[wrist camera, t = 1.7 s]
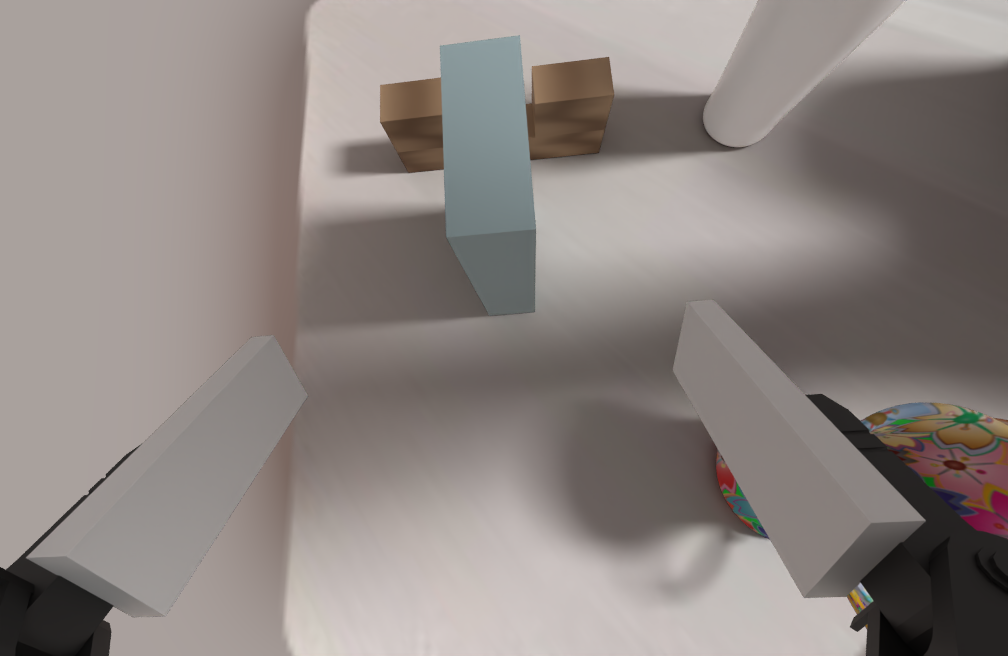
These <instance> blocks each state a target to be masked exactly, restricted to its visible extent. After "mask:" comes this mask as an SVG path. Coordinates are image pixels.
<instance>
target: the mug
mask: <svg viewBox="0 0 1008 656" xmlns="http://www.w3.org/2000/svg"><path fill="white" fill-rule="evenodd" d="M861 422H862V423H863V424H864V425H865V426H866V427H867V428H868V429H869V432H870V434H874V435H875V436H876V437H878V438H879V439H880V440H881V441H882V442H883V443H884V444H885V445H886V446H887V450H888V451H892V452H893V453H894V454H895V455H896V456H897V457H899V458H900V459H901V460H902V461H903V462H904V463H905V464H906V465H907V466H908V467H909V468H910V469H911V470H912V471H913V472H914V473H915V474H916V475H917V476H919V477H920V478H921V479H922V480H923V481H924V482H925V483H926V484H927V485H928V486H929V487H930V488H931V489H932V490H933V491H934V492H935V493H936V494H937V495H938V496H940V497H941V498H942V499H943V500H944V501H945V502H946V503H947V504H948V505H949V506H950V507H951V508H952V509H953V510H954V511H955V512H956V513H957V514H958V515H960V516H961V517H962V518H963V519H964V520H965V521H966V522H967V523H969V524H970V525H971V526H972V527H973V528H974V529H976V530H977V531H984V532H988V533H991V534H994V535H997V536H1000V537H1004V538H1007V539H1008V426H1007V425H1006V424H1004V423H1002V422H1000V421H998V420H996V419H994V418H992V417H990V416H987V415H985V414H982V413H979V412H977V411H974V410H971V409H967V408H964V407H960V406H955V405H950V404H942V403H909V404H903V405H897V406H894V407H890V408H887V409H884V410H881V411H879V412H876V413H874V414H872V415H870V416H868V417H866V418H865V419H863V420H861ZM716 471H717V477H718V482H719V485H720V488H721V491H722V493H723V496H724V498H725V500H726V501H727V503H728V505H729V506H730V507H731V509H732V510H733V512H734V513H735V514H736V515H737V516H738V517H739V519H740V520H742V521H743V522H744V523H745V524H746V525H747V526H748V527H749V528H751V529H752V530H754V531H755V532H757V533H758V534H760V535H762V536H764V537H766V538H768V539H769V537H768V535H767V533H766V532H765V530H764V528H763V526H762V525H761V523H760V521H759V519H758V518H757V516H756V514H755V513H754V511H753V509H752V507H751V506H750V504H749V502H748V500H747V499H746V497H745V495H744V494H743V492H742V490H741V488H740V487H739V485H738V483H737V481H736V480H735V478H734V476H733V474H732V473H731V471H730V469H729V468H728V466H727V464H726V462H725V461H724V459H723V457H722V455H721V454H720V452H719V450H718V451H717V458H716ZM847 598H848V600H849V602H850V603H851V605H852V607H853V608H854V610H855V612H856V613H857V614H859V613H860V612H861V611H862V610H863V609H864V608H866V607H867V606H868V605H869V604H870V603H872V602H873V599H872V598H871V597H870V595H869V594H868V592H867V591H866V590H865V588H864V587H863V585H862V584H861V583H860V584H859V585H858V586H857V587H856V588H855V589H854V590H852V591H851V592H850V593H849V594H848V595H847ZM867 625H868V624H867ZM867 625H866V626H865V627H866V629H867Z"/></svg>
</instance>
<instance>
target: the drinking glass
mask: <svg viewBox="0 0 1008 656" xmlns="http://www.w3.org/2000/svg"><path fill="white" fill-rule="evenodd" d="M906 1H907V0H758V1H757V3H756V5H755V7H754V9H753V11H752V14H751V16H750V18H749V20H748V22H747V24H746V26H745V28H744V30H743V32H742V34H741V36H740V39H739V41H738V43H737V45H736V47H735V49H734V51H733V53H732V55H731V57H730V59H729V61H728V63H727V65H726V67H725V69H724V71H723V73H722V76H721V78H720V80H719V82H718V84H717V86H716V87H715V89H714V91H713V92H712V94H711V96H710V98H709V99H708V101H707V103H706V105H705V108H704V112H703V123H704V126H705V129H706V131H707V132H708V134H709V135H710V136H711V137H712V138H713V139H714V140H716V141H717V142H719V143H721V144H723V145H726V146H730V147H745V146H749V145H752V144H755V143H757V142H758V141H760V140H762V139H763V138H764V137H765V136H766V135H768V134H769V132H770V131H771V130H772V129H773V128H774V127H775V126H776V125H777V124H778V123H779V121H780V120H781V119H782V118H783V117H784V116H785V115H786V114H787V113H789V112H790V111H791V110H792V109H793V108H794V107H795V106H796V105H797V104H798V103H799V102H800V101H801V100H802V99H803V98H804V97H805V96H806V95H807V94H808V93H809V92H811V91H812V90H813V89H814V88H815V87H816V86H817V85H818V84H819V83H820V82H821V81H822V80H823V79H824V78H825V77H826V76H827V75H829V74H830V73H831V72H832V71H833V70H834V69H835V68H836V67H837V66H838V65H839V64H840V63H841V62H842V61H843V60H844V59H845V58H847V57H848V56H849V55H850V54H851V53H852V52H853V51H854V50H855V49H856V48H857V47H858V46H859V45H860V44H861V43H863V42H864V41H865V40H866V39H867V38H868V37H869V36H870V35H871V34H872V33H873V32H874V31H875V30H876V29H877V28H879V27H880V26H881V25H882V24H883V23H884V22H885V21H886V20H887V19H888V18H889V17H890V16H891V15H892V14H893V13H894V12H895V11H896V10H897V9H898V8H900V7H901V6H902V5H903V4H904V3H905V2H906Z"/></svg>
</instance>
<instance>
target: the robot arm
mask: <svg viewBox="0 0 1008 656" xmlns="http://www.w3.org/2000/svg"><path fill="white" fill-rule="evenodd" d="M672 371H673V372H674V374H675V376H676V378H677V379H678V381H679V383H680V384H681V386H682V388H683V390H684V391H685V393H686V395H687V397H688V398H689V400H690V402H691V404H692V405H693V407H694V409H695V410H696V412H697V414H698V416H699V417H700V419H701V421H702V423H703V424H704V426H705V428H706V429H707V431H708V433H709V435H710V436H711V438H712V440H713V442H714V443H715V445H716V447H717V449H718V450H719V452H720V454H721V455H722V457H723V459H724V461H725V462H726V464H727V466H728V468H729V469H730V471H731V473H732V474H733V476H734V478H735V480H736V481H737V483H738V485H739V487H740V488H741V490H742V492H743V494H744V495H745V497H746V499H747V500H748V502H749V504H750V506H751V507H752V509H753V511H754V513H755V514H756V516H757V518H758V519H759V521H760V523H761V525H762V526H763V528H764V530H765V532H766V533H767V535H768V537H769V539H770V540H771V542H772V544H773V545H774V547H775V549H776V551H777V552H778V554H779V556H780V558H781V559H782V561H783V563H784V564H785V566H786V568H787V570H788V571H789V573H790V575H791V577H792V578H793V580H794V582H795V583H796V585H797V587H798V589H799V590H800V592H801V594H802V596H803V597H804V598H818V597H846V596H847V595H848V594H849V593H850V592H851V591H852V590H854V589H855V588H856V587H857V586H858V585H859V584H860V583H861V584H862V585H863V587H864V588H865V590H866V591H867V592H868V594H869V595H870V597H871V598H872V599H873V602H872V603H870V604H869V605H868V606H867V607H866V608H864V609H863V610H862V611H861V612H860V613H859V614H857V615H856V616H855V617H854V618H853V621H852V623H851V626H850V628H852V629H854V630H855V631H857V632H858V631H859V630H861V629H862V628H863V627H864V626H866V625H867V624H868V625H867V644H866V656H1008V539H1007V538H1004V537H1000V536H997V535H994V534H991V533H988V532H984V531H977V530H976V529H974V528H973V527H972V526H971V525H970V524H969V523H967V522H966V521H965V520H964V519H963V518H962V517H961V516H960V515H958V514H957V513H956V512H955V511H954V510H953V509H952V508H951V507H950V506H949V505H948V504H947V503H946V502H945V501H944V500H943V499H942V498H941V497H940V496H938V495H937V494H936V493H935V492H934V491H933V490H932V489H931V488H930V487H929V486H928V485H927V484H926V483H925V482H924V481H923V480H922V479H921V478H920V477H919V476H917V475H916V474H915V473H914V472H913V471H912V470H911V469H910V468H909V467H908V466H907V465H906V464H905V463H904V462H903V461H902V460H901V459H900V458H899V457H897V456H896V455H895V454H894V453H893V452H892V451H888V450H887V446H886V445H885V444H884V443H883V442H882V441H881V440H880V439H879V438H878V437H876V436H875V435H874V434H870V432H869V429H868V428H867V427H866V426H865V425H864V424H863V423H862V422H861V421H860V420H859V419H858V418H856V417H855V416H854V415H853V414H852V413H851V412H850V411H849V410H848V409H846V408H844V407H843V406H841V405H839V404H838V403H836V402H834V401H833V400H831V399H829V398H828V397H826V396H824V395H823V394H814V395H805V394H804V393H803V392H802V391H801V390H800V389H799V388H798V387H797V386H796V385H795V384H794V383H793V382H792V381H791V380H790V379H789V378H788V377H787V376H786V375H785V374H784V373H783V371H782V370H781V369H780V368H779V367H778V366H777V365H776V364H775V363H774V362H773V361H772V360H771V359H770V358H769V357H768V356H767V355H766V354H765V353H764V352H763V351H762V350H761V349H760V348H759V347H758V345H757V344H756V343H755V342H754V341H753V340H752V339H751V338H750V337H749V336H748V335H747V334H746V333H745V332H744V331H743V330H742V329H741V328H740V327H739V326H738V325H737V324H736V323H735V322H734V321H733V319H732V318H731V317H730V316H729V315H728V314H727V313H726V312H725V311H724V310H723V309H722V308H721V307H720V306H719V305H718V304H717V303H716V302H715V301H714V300H713V299H711V300H699V301H687V304H686V309H685V313H684V318H683V323H682V328H681V332H680V337H679V342H678V347H677V351H676V356H675V361H674V366H673V370H672ZM307 397H308V395H307V393H306V391H305V390H304V388H303V386H302V384H301V382H300V381H299V379H298V377H297V375H296V374H295V372H294V370H293V368H292V366H291V365H290V363H289V361H288V359H287V358H286V356H285V354H284V352H283V351H282V349H281V347H280V345H279V343H278V342H277V340H276V338H275V336H274V335H270V336H257V337H251V338H250V339H249V340H248V341H247V342H246V343H245V344H244V345H243V346H242V347H241V348H240V349H239V350H238V351H237V352H236V353H235V354H234V355H233V356H232V357H231V358H229V360H227V361H226V362H225V363H224V365H222V366H221V367H220V368H219V369H218V370H217V371H216V372H215V373H214V374H213V375H212V376H211V377H210V378H209V379H208V380H207V381H206V382H205V383H204V384H203V385H202V386H201V387H200V388H199V389H198V390H197V391H196V392H195V393H194V394H193V395H192V396H191V397H190V398H189V399H188V400H187V401H186V402H184V403H183V405H181V406H180V407H179V408H178V409H177V410H176V411H175V412H174V413H173V414H172V415H171V416H170V417H169V418H168V419H167V420H166V421H165V422H164V423H163V424H162V425H161V426H160V427H159V428H158V429H157V430H156V431H155V432H154V433H153V434H152V435H151V436H150V437H149V438H148V439H147V440H146V441H145V442H144V443H142V444H141V445H139V446H138V447H137V448H135V449H134V450H132V451H131V452H129V453H128V454H127V455H126V456H124V457H123V458H122V459H121V460H120V461H119V462H118V463H117V464H116V465H115V466H114V467H113V468H112V469H111V470H110V471H109V472H108V473H107V474H106V477H105V478H102V479H101V480H100V481H98V482H97V483H96V484H95V485H94V486H93V487H92V488H91V489H90V490H89V494H88V495H84V496H83V497H82V498H81V499H80V500H79V501H78V502H77V503H76V504H75V505H74V506H73V507H71V509H70V510H68V511H67V512H66V513H65V514H64V515H63V516H62V517H61V518H60V519H59V520H58V521H57V522H56V523H55V524H54V525H53V526H52V527H51V528H50V529H49V530H48V531H47V532H46V533H45V534H44V535H42V537H40V538H39V539H38V540H37V541H36V542H35V543H34V544H33V545H32V546H31V547H30V548H29V549H28V550H27V551H26V552H25V553H24V554H23V555H22V556H21V557H20V558H19V559H18V560H17V561H15V562H14V563H13V564H12V565H11V566H10V567H9V568H7V569H6V570H5V569H3V568H1V567H0V656H109V649H110V639H111V628H110V623H108V622H106V621H104V620H103V619H104V618H105V616H106V615H107V614H108V613H109V611H110V610H111V609H112V607H115V608H117V609H119V610H121V611H122V612H124V613H126V614H128V615H130V616H131V617H161V616H166V615H167V614H168V612H169V611H170V609H171V607H172V606H173V604H174V603H175V601H176V600H177V598H178V597H179V595H180V594H181V592H182V590H183V589H184V587H185V586H186V584H187V583H188V581H189V580H190V578H191V577H192V575H193V573H194V572H195V570H196V569H197V567H198V566H199V564H200V562H201V561H202V559H203V558H204V556H205V555H206V553H207V552H208V550H209V548H210V547H211V546H212V544H213V542H214V541H215V539H216V538H217V536H218V535H219V533H220V532H221V530H222V528H223V527H224V525H225V524H226V522H227V520H228V519H229V518H230V516H231V514H232V513H233V511H234V510H235V508H236V507H237V505H238V504H239V502H240V501H241V499H242V497H243V496H244V494H245V493H246V491H247V490H248V488H249V487H250V485H251V484H252V482H253V480H254V479H255V477H256V476H257V474H258V473H259V471H260V470H261V468H262V466H263V465H264V463H265V462H266V460H267V459H268V457H269V456H270V454H271V452H272V451H273V449H274V448H275V446H276V444H277V443H278V442H279V440H280V439H281V437H282V435H283V434H284V432H285V431H286V429H287V428H288V426H289V425H290V423H291V422H292V420H293V418H294V417H295V415H296V414H297V412H298V411H299V409H300V408H301V406H302V404H303V403H304V401H305V400H306V398H307Z"/></svg>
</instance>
